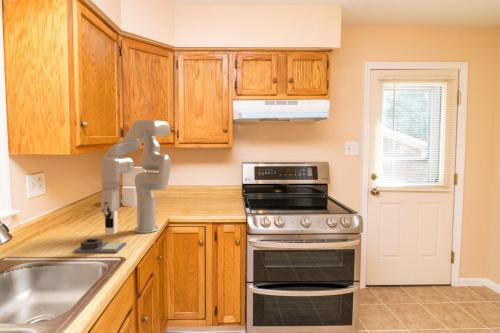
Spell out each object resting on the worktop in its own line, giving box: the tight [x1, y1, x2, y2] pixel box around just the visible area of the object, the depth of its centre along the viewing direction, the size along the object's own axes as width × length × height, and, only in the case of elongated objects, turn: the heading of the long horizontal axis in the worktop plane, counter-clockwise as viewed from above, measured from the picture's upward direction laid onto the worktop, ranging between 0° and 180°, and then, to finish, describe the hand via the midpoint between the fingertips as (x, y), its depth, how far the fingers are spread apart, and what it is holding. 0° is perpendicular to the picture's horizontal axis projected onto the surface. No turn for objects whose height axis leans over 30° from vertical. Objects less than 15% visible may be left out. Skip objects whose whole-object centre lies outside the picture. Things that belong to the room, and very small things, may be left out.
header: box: [74, 238, 127, 254], centre depth 149 cm, size 12×18×4 cm, turn 91°
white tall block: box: [121, 166, 147, 207], centre depth 252 cm, size 17×17×28 cm
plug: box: [104, 210, 119, 235], centre depth 148 cm, size 4×4×10 cm
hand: (111, 225), depth 148 cm, fingers closed on plug, 4 cm apart
